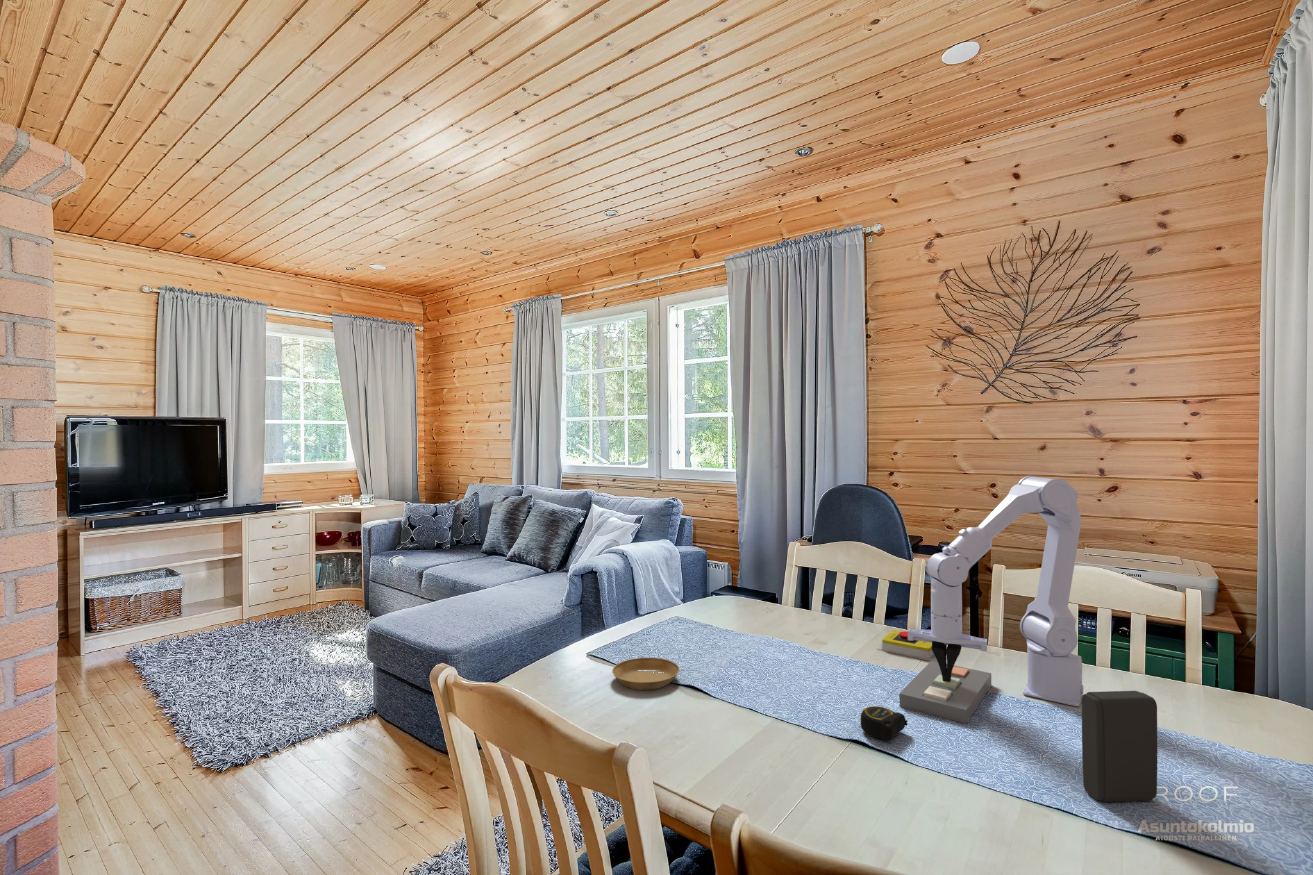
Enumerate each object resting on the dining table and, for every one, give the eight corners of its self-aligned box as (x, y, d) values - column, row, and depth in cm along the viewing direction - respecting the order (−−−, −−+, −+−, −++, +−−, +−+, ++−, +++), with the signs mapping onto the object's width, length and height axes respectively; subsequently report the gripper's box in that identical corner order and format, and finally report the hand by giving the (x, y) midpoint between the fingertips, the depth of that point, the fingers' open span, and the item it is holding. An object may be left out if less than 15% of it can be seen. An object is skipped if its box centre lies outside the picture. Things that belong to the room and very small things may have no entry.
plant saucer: (603, 691, 131) (603, 679, 131) (623, 666, 145) (623, 655, 145) (671, 697, 127) (671, 684, 127) (685, 670, 142) (685, 659, 142)
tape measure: (890, 747, 106) (890, 725, 106) (853, 734, 111) (853, 713, 111) (907, 733, 111) (907, 712, 111) (871, 721, 116) (871, 701, 116)
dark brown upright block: (1139, 787, 93) (1138, 687, 93) (1161, 803, 89) (1160, 698, 89) (1079, 789, 93) (1078, 689, 93) (1099, 805, 89) (1098, 700, 89)
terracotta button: (968, 681, 132) (968, 669, 132) (963, 687, 129) (963, 675, 129) (948, 676, 135) (948, 665, 135) (943, 682, 131) (943, 670, 131)
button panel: (991, 684, 131) (991, 673, 131) (966, 723, 114) (966, 709, 114) (931, 671, 139) (931, 660, 139) (899, 706, 122) (899, 693, 121)
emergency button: (886, 624, 161) (949, 635, 152) (886, 641, 161) (949, 653, 152) (874, 633, 154) (939, 645, 144) (874, 651, 154) (939, 664, 144)
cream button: (951, 703, 121) (951, 690, 121) (945, 711, 118) (945, 697, 118) (929, 698, 124) (929, 685, 124) (923, 705, 121) (923, 692, 121)
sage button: (960, 691, 127) (960, 679, 127) (955, 697, 123) (955, 685, 123) (939, 686, 129) (939, 674, 129) (934, 692, 126) (933, 680, 126)
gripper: (987, 613, 126) (987, 679, 126) (911, 603, 133) (911, 667, 133) (986, 622, 120) (986, 692, 120) (906, 612, 127) (906, 678, 127)
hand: (946, 680), depth 126 cm, fingers closed, pressing on sage button
